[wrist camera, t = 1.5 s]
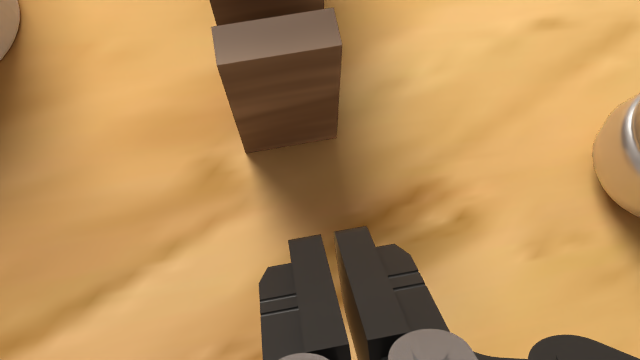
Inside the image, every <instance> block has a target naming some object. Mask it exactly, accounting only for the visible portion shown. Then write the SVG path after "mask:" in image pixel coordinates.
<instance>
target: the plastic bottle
mask: <svg viewBox="0 0 640 360" xmlns="http://www.w3.org/2000/svg"><path fill="white" fill-rule="evenodd" d="M592 157H593V166H594V169H595V172H596V175H597V177H598V179H599V181H600V183H601V185H602V187H603V189H604V190H605V191H606V192H607V194H608V195H609V196H610V197H611V198H612V199H613V200H614V201H615V202H616V203H617V204H618V205H619V206H621V207H622V208H624V209H625V210H627V211H628V212H630V213H631V214H633V215H635V216H637V217H640V93H638V94H637V95H635V96H633V97H632V98H630V99H628V100H627V101H625V102H623V103H622V104H620V105H619V106H617V107H616V108H615V109H614V110H613V111H612V112H611V113H610V115H609V116H608V118H607V119H606V121H605V122H604V124H603V125H602V127H601V129H600V130H599V132H598V133H597V135H596V138H595V141H594V143H593V152H592Z"/></svg>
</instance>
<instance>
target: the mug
mask: <svg viewBox="0 0 640 360" xmlns="http://www.w3.org/2000/svg"><path fill="white" fill-rule="evenodd" d="M19 22H20V9H19V4H18V0H0V60H1V59H2V58H3V57H4V55H5V54H6V53H7V51H8V50H9V49H10V47H11V45H12V43H13V41H14V40H15V37H16V34H17V31H18V27H19Z"/></svg>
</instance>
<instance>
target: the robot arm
mask: <svg viewBox="0 0 640 360" xmlns="http://www.w3.org/2000/svg"><path fill="white" fill-rule="evenodd" d="M288 243H289V249H290V256H291V263H288V264H283V265H278V266H272V267H268V268H267V270H266V272H265V273H264V275H263V277H262V279H261V280H260V282H259V295H260V314H261V333H262V352H263V360H351V355H350V348H349V342H348V338H347V334H346V330H345V327H344V323H343V319H342V315H341V311H340V307H339V303H338V299H337V296H336V292H335V288H334V284H333V280H332V276H331V272H330V268H329V265H328V261H327V257H326V253H325V249H324V245H323V241H322V237H321V234H320V235H314V236H309V237H303V238H298V239H292V240H288ZM334 243H335V250H336V257H337V264H338V271H339V278H340V285H341V292H342V298H343V303H344V308H345V313H346V317H347V321H348V325H349V328H350V332H351V336H352V339H353V343H354V347H355V351H356V354H357V358H358V360H640V359H638V358H636V357H633V356H631V355H628V354H626V353H624V352H621V351H619V350H616V349H614V348H611V347H609V346H607V345H604V344H602V343H599V342H597V341H594V340H591V339H589V338H585V337H581V336H575V335H556V336H551V337H548V338H545V339H542V340H541V341H539V342H538V343H536V344H535V345H534V346H533V347H532V349H531V350H530V353H529V356H528V359H515V358H498V357H490V356H486V355H482V354H479V353H476V352H474V351H472V349H471V348H470V346H469V345H468V344H467V343H466V342H465V341H464V340H463V339H462V338H460V337H459V336H457V335H455V334H453V333H450V331H449V329H448V327H447V326H446V324H445V322H444V320H443V318H442V316H441V314H440V312H439V310H438V308H437V306H436V304H435V302H434V300H433V298H432V296H431V294H430V292H429V290H428V288H427V286H425V283H424V281H423V279H422V277H421V275H420V273H419V272H418V269H417V267H416V265H415V263H414V261H413V259H412V257H411V255H410V254H408V253H407V252H405V251H404V250H403V249H401V248H400V247H398V246H397V245H395V244H391V245H385V246H380V247H375V245H374V243H373V240H372V238H371V235H370V233H369V230H368V228H367V227H366V226H363V227H358V228H352V229H347V230H341V231H336V232H334Z"/></svg>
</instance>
